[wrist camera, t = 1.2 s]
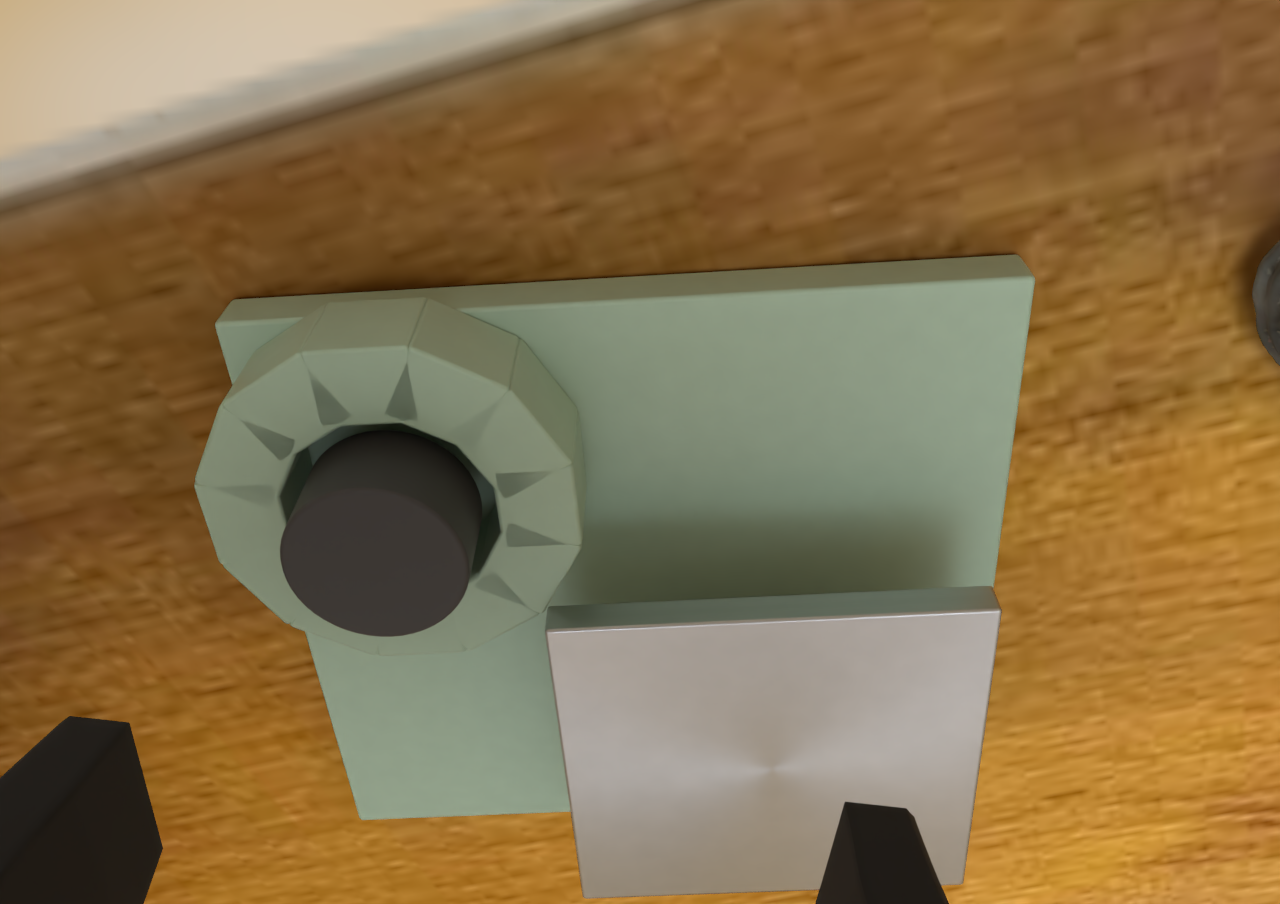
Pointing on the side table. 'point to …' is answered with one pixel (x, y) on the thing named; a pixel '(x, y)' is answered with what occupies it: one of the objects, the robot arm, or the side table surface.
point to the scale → (617, 473)
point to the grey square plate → (766, 731)
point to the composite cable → (1268, 301)
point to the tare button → (383, 534)
